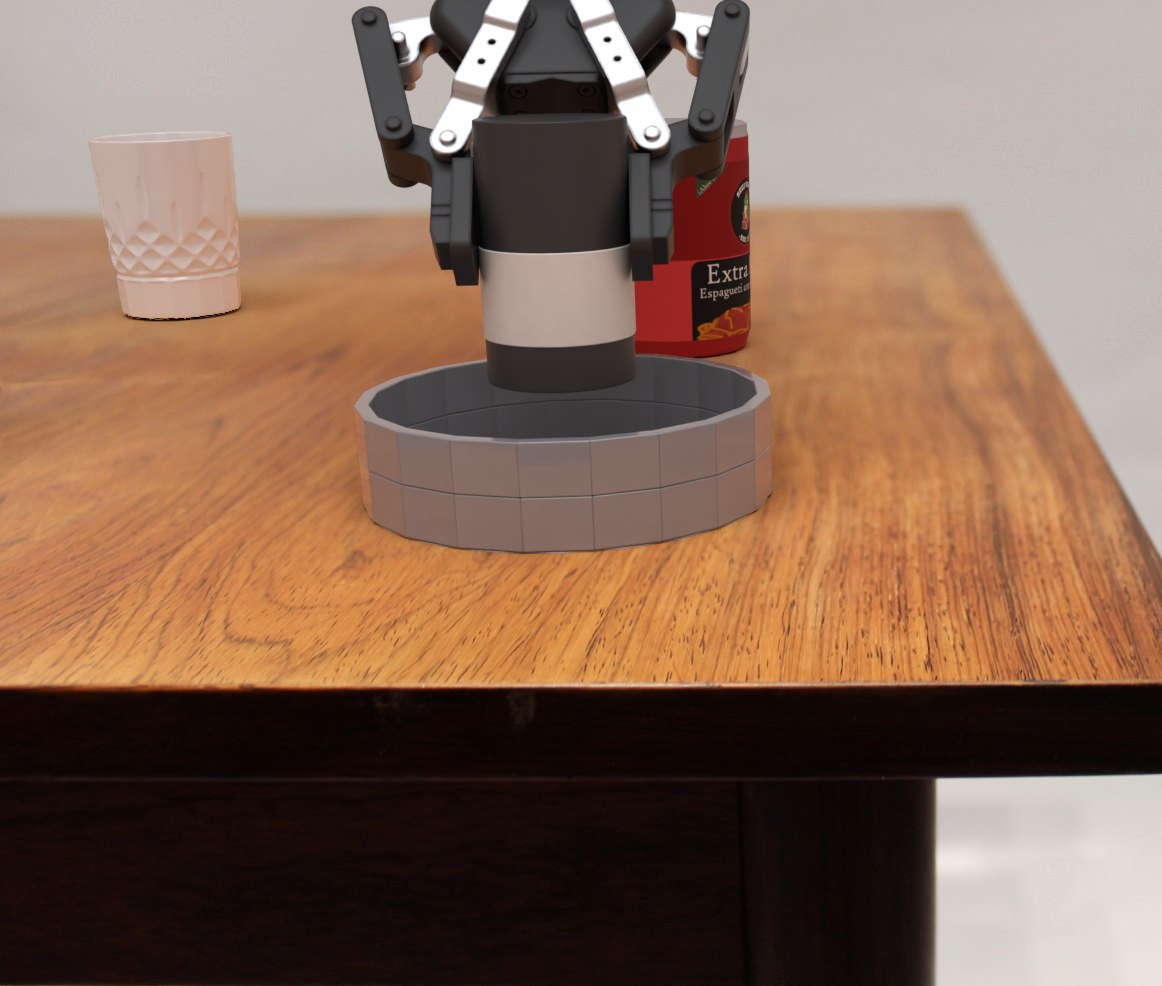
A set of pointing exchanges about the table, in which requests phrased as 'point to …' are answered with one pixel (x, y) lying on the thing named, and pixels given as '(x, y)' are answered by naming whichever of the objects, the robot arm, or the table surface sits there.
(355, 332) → the table surface
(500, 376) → the container
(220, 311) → the white cup
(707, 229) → the canned food
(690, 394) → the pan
